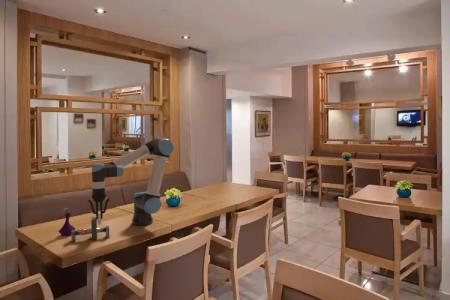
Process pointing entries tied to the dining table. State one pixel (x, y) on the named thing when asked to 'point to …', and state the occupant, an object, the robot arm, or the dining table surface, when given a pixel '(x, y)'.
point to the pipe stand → (89, 232)
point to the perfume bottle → (66, 225)
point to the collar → (94, 227)
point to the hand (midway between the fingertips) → (99, 223)
